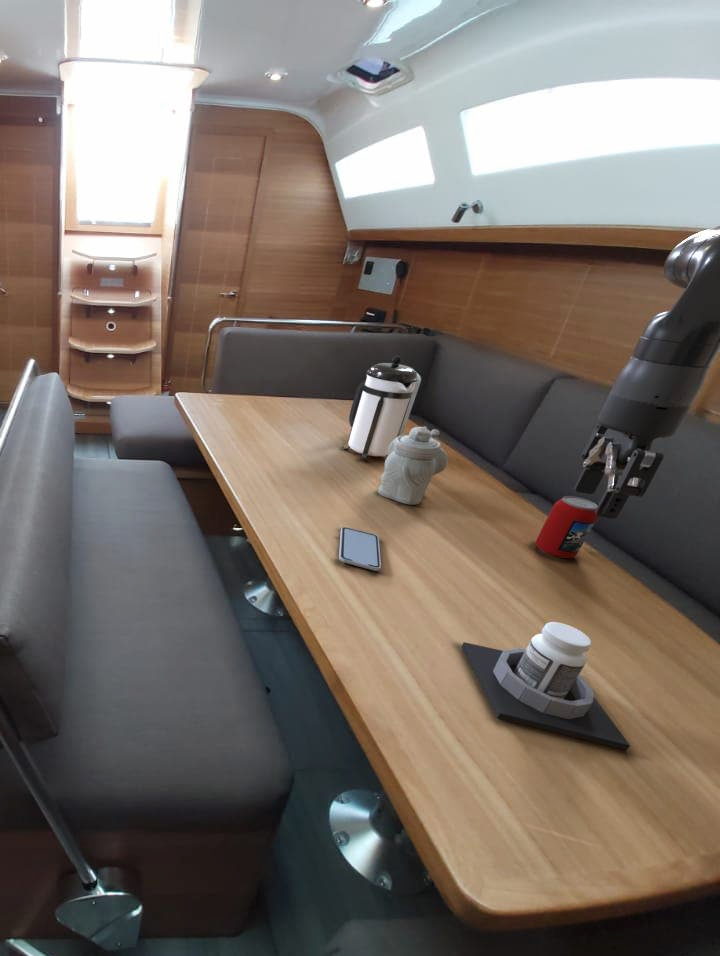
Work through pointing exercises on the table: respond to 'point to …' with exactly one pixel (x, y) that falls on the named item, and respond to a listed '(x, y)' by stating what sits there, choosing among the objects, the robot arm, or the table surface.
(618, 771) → the table surface
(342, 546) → the smartphone
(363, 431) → the coffee press
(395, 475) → the grey sculpted cookie jar
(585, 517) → the beverage can
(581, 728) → the dock
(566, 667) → the pill bottle
